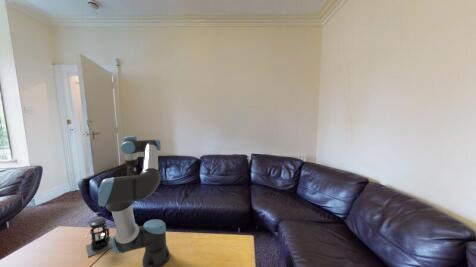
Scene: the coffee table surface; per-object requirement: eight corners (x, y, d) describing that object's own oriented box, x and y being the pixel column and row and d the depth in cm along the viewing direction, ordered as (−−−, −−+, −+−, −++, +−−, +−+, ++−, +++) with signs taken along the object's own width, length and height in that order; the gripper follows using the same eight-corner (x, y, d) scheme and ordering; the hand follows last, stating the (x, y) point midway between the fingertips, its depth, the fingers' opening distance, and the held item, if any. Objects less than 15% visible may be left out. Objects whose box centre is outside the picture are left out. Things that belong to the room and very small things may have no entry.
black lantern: (86, 250, 121) (83, 216, 120) (97, 241, 131) (95, 209, 129) (103, 250, 121) (101, 216, 119) (114, 241, 130) (112, 209, 128)
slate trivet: (114, 246, 126) (114, 245, 126) (88, 257, 116) (88, 256, 116) (110, 237, 136) (110, 236, 136) (86, 246, 126) (86, 245, 126)
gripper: (143, 161, 120) (144, 193, 122) (132, 155, 139) (134, 183, 140) (130, 163, 115) (132, 196, 117) (120, 157, 134) (122, 186, 135)
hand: (133, 189), depth 129 cm, fingers open, 13 cm apart
